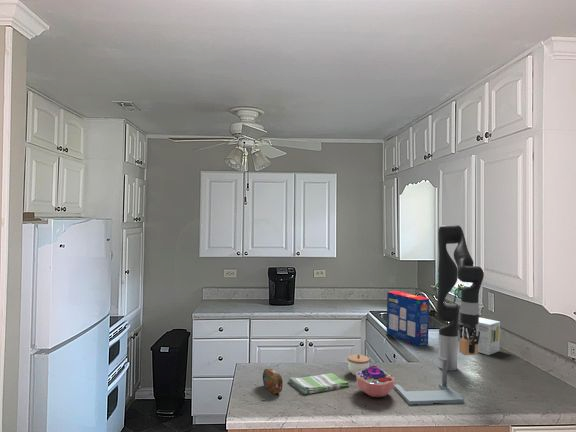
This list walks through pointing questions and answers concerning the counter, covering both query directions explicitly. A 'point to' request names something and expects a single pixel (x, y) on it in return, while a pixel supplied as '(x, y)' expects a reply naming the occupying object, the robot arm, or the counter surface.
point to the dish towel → (318, 383)
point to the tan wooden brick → (466, 347)
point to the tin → (272, 381)
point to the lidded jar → (357, 362)
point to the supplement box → (488, 336)
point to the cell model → (375, 381)
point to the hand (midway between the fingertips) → (468, 351)
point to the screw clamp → (431, 392)
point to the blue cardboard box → (408, 317)
